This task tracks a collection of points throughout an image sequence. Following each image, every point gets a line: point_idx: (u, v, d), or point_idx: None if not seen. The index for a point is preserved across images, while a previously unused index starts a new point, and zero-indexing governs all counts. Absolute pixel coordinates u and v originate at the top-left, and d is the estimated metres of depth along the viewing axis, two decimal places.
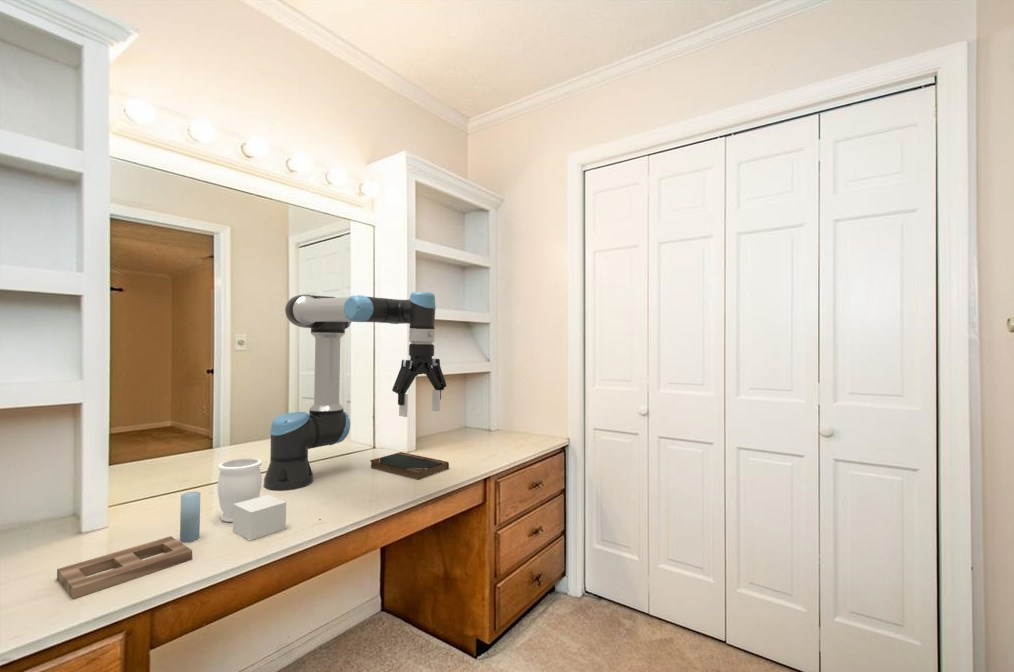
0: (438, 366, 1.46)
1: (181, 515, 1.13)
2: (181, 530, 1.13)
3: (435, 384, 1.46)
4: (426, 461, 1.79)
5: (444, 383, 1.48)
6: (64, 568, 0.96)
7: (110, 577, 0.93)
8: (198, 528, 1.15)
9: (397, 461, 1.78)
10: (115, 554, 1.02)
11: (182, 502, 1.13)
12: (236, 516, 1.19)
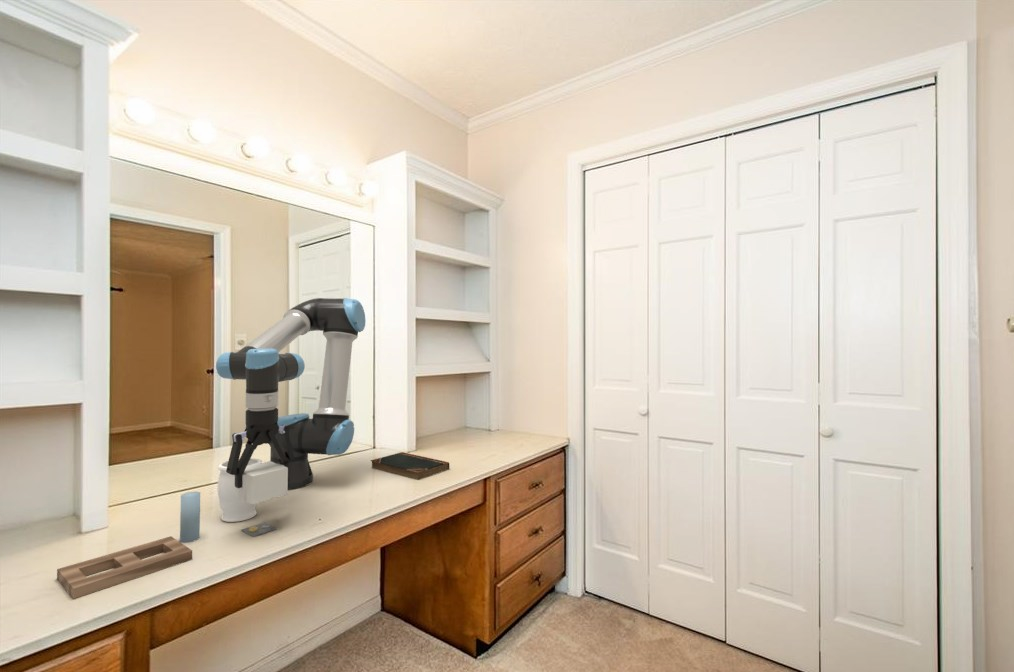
0: (286, 434, 1.25)
1: (181, 515, 1.13)
2: (181, 530, 1.13)
3: (278, 457, 1.25)
4: (427, 461, 1.79)
5: (291, 455, 1.27)
6: (64, 568, 0.96)
7: (110, 577, 0.93)
8: (198, 528, 1.15)
9: (398, 461, 1.78)
10: (115, 554, 1.02)
11: (182, 502, 1.13)
12: None
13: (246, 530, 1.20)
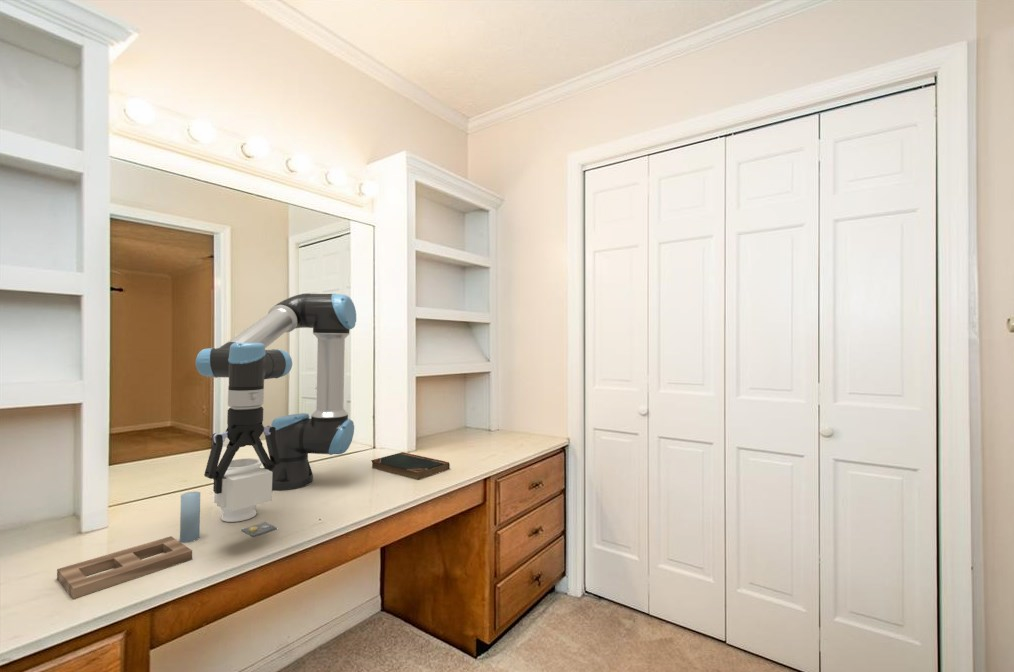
0: (271, 436, 1.16)
1: (181, 515, 1.13)
2: (181, 530, 1.13)
3: (263, 460, 1.15)
4: (427, 461, 1.78)
5: (277, 459, 1.17)
6: (64, 568, 0.96)
7: (110, 577, 0.93)
8: (198, 528, 1.15)
9: (398, 461, 1.78)
10: (115, 554, 1.02)
11: (182, 502, 1.13)
12: None
13: (246, 530, 1.20)
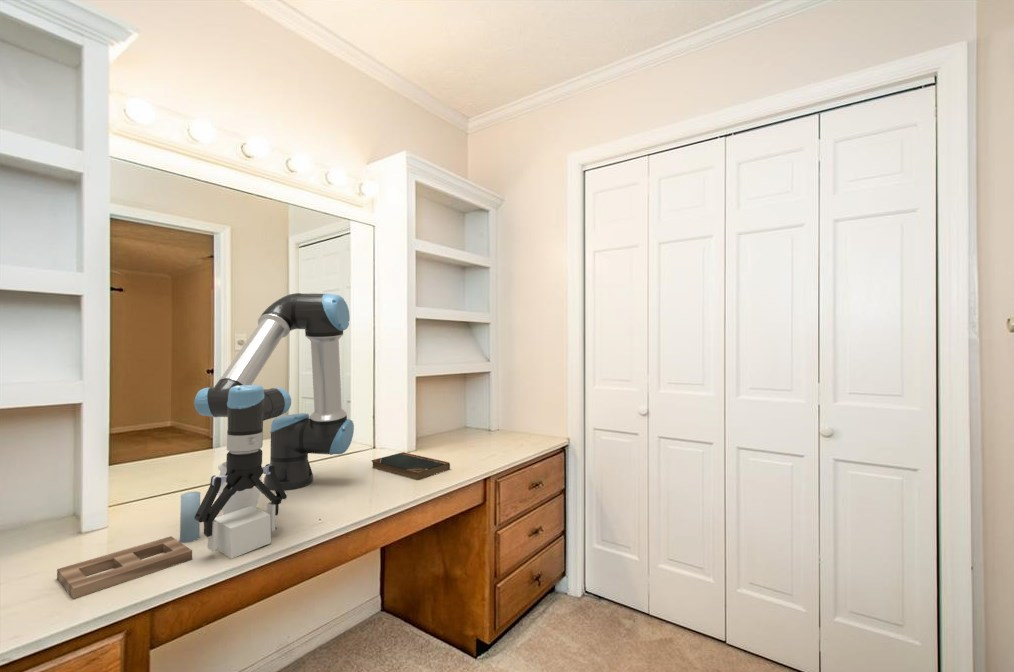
0: (272, 475, 1.16)
1: (181, 515, 1.13)
2: (181, 530, 1.13)
3: (268, 497, 1.16)
4: (427, 461, 1.78)
5: (283, 494, 1.19)
6: (64, 568, 0.96)
7: (110, 577, 0.93)
8: (198, 528, 1.15)
9: (398, 461, 1.78)
10: (115, 554, 1.02)
11: (182, 502, 1.13)
12: None
13: None
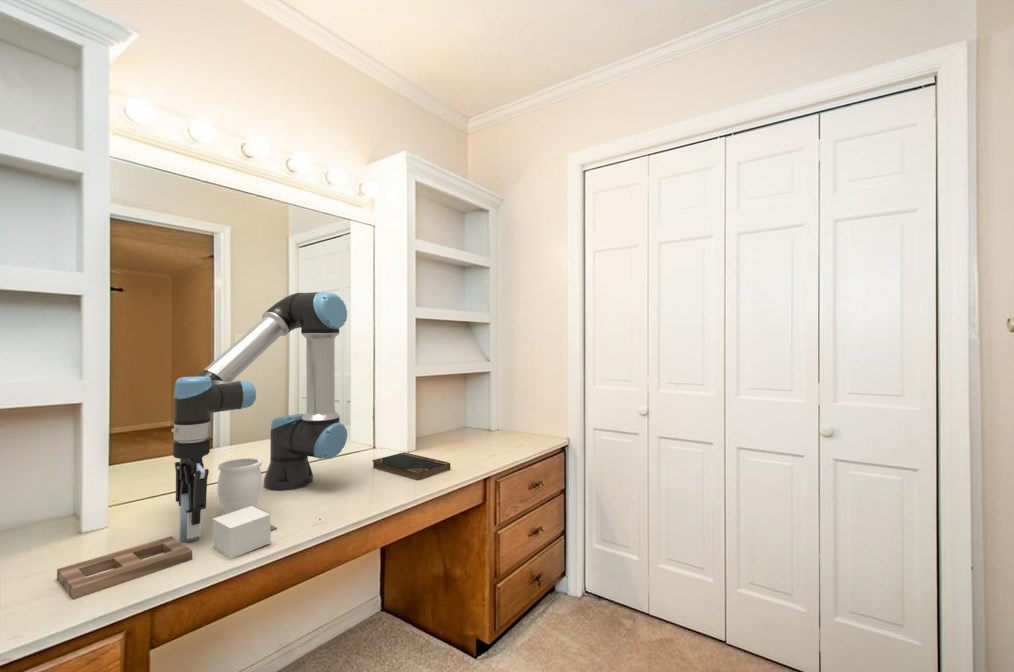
0: (195, 479, 1.11)
1: (181, 515, 1.13)
2: (181, 530, 1.13)
3: None
4: (428, 462, 1.78)
5: (193, 505, 1.11)
6: (64, 568, 0.96)
7: (110, 577, 0.93)
8: None
9: (399, 461, 1.77)
10: (115, 554, 1.02)
11: (182, 502, 1.13)
12: (216, 532, 1.10)
13: None
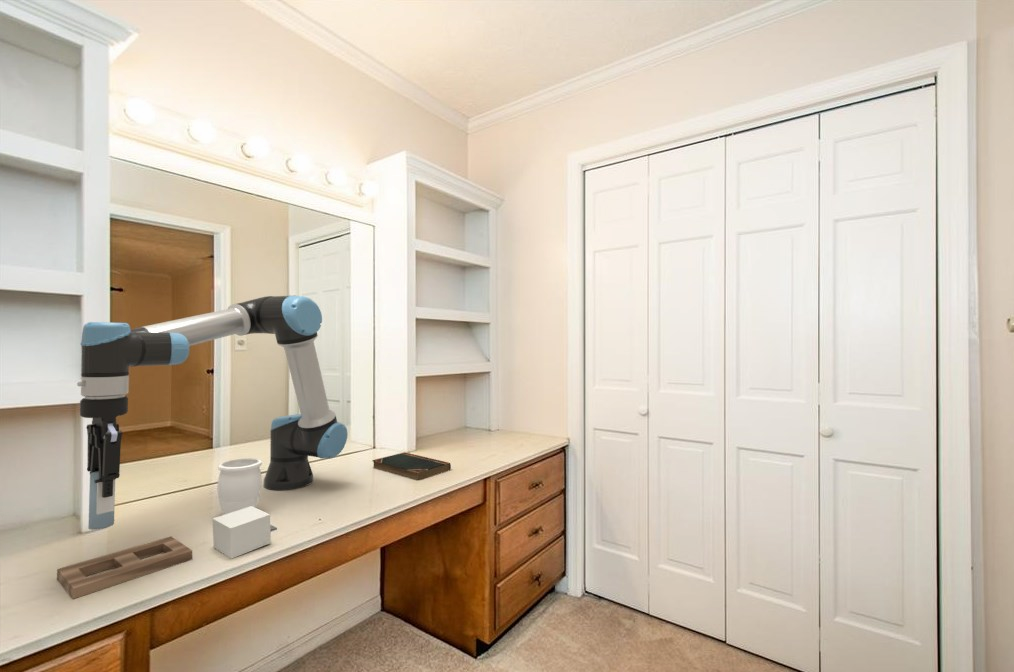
0: (104, 442, 0.93)
1: (90, 497, 0.95)
2: (89, 515, 0.95)
3: None
4: (428, 462, 1.78)
5: (103, 474, 0.93)
6: (64, 568, 0.96)
7: (110, 577, 0.93)
8: (112, 513, 0.97)
9: (399, 461, 1.77)
10: (115, 554, 1.02)
11: (91, 481, 0.95)
12: (216, 532, 1.10)
13: None
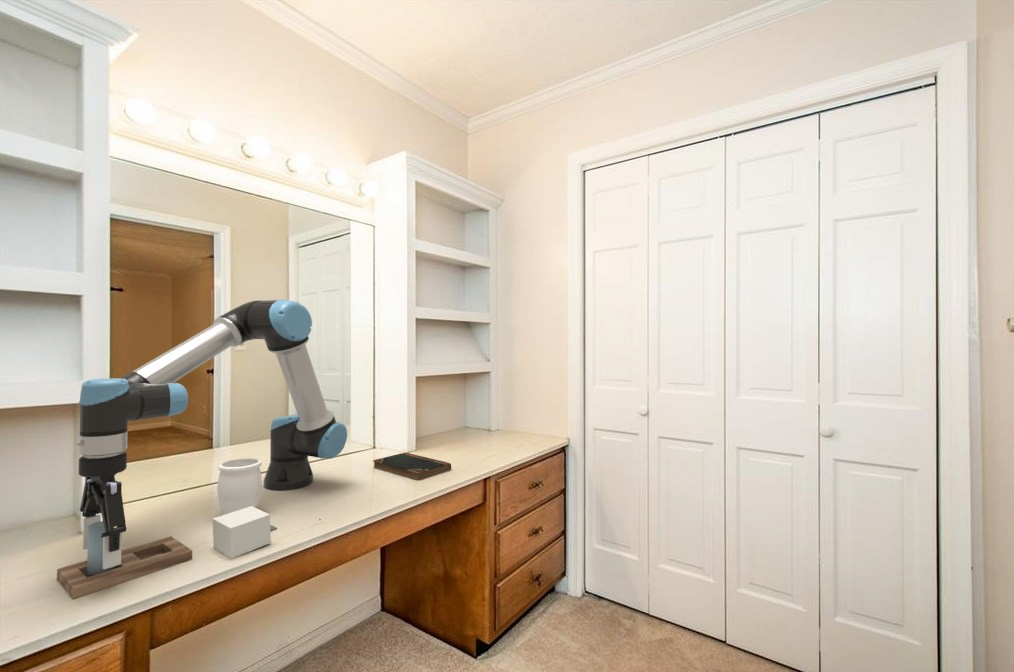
0: (105, 496, 0.92)
1: (88, 550, 0.95)
2: (88, 568, 0.95)
3: None
4: (428, 462, 1.78)
5: (109, 528, 0.90)
6: (64, 568, 0.96)
7: (110, 577, 0.93)
8: None
9: (399, 461, 1.77)
10: None
11: (89, 534, 0.94)
12: (216, 532, 1.10)
13: None
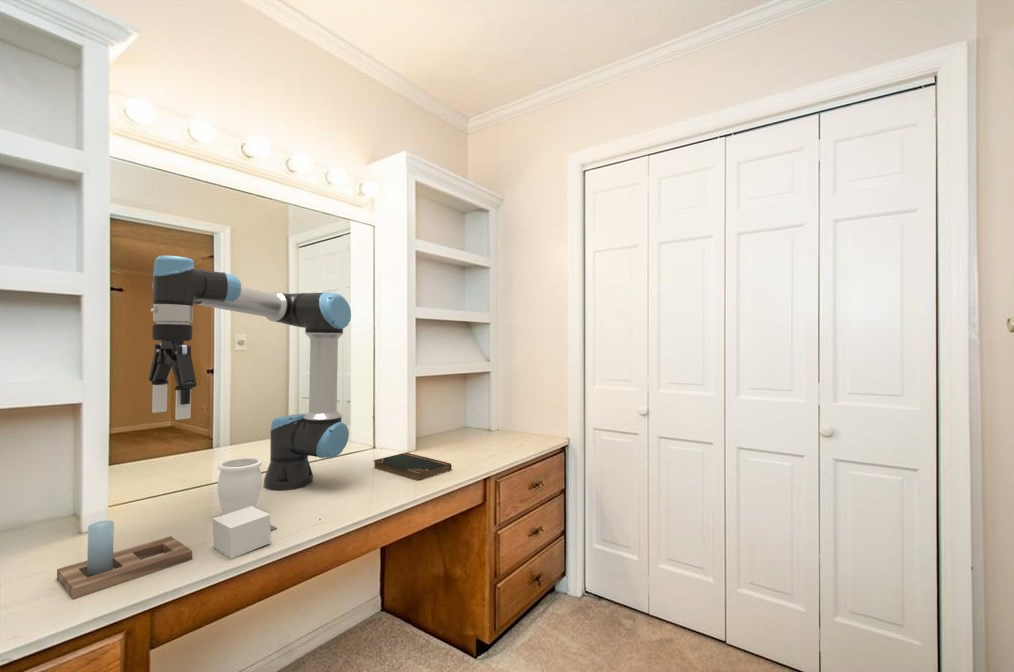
0: (177, 355, 1.03)
1: (88, 550, 0.95)
2: (88, 568, 0.95)
3: None
4: (429, 462, 1.77)
5: (182, 381, 1.02)
6: (64, 568, 0.96)
7: (110, 577, 0.93)
8: (110, 565, 0.97)
9: (400, 461, 1.77)
10: (115, 554, 1.02)
11: (89, 534, 0.94)
12: (216, 532, 1.10)
13: None
